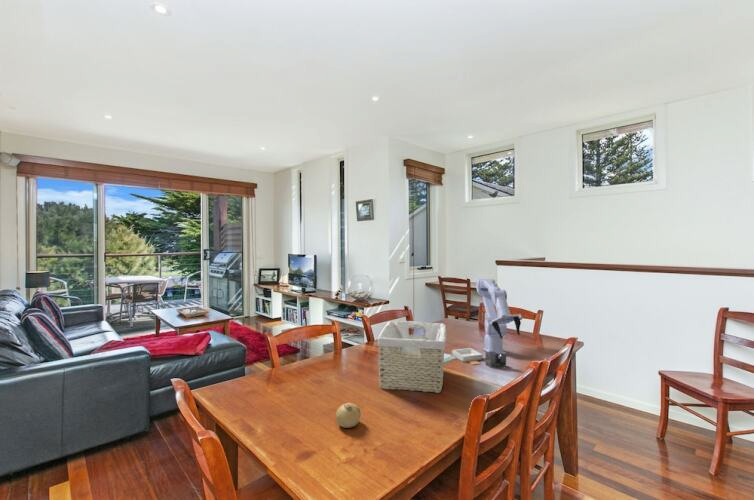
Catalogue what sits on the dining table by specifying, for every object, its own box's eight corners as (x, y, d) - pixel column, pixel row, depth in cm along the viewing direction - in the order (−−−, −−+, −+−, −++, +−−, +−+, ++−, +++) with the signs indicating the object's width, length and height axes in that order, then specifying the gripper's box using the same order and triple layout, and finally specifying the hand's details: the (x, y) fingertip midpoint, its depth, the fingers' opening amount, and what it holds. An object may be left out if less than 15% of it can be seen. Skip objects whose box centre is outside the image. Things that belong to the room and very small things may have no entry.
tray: (452, 354, 178) (452, 349, 178) (470, 352, 181) (470, 347, 181) (463, 361, 168) (463, 356, 168) (482, 359, 171) (482, 354, 171)
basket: (445, 397, 131) (446, 339, 131) (375, 390, 137) (375, 335, 136) (446, 370, 158) (446, 322, 157) (387, 365, 163) (387, 319, 162)
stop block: (485, 364, 164) (485, 352, 164) (492, 363, 165) (493, 351, 165) (490, 367, 160) (490, 354, 160) (498, 366, 162) (498, 353, 161)
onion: (330, 424, 112) (330, 402, 112) (349, 415, 118) (349, 394, 118) (346, 434, 107) (346, 411, 106) (365, 424, 112) (365, 402, 112)
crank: (485, 357, 170) (485, 347, 170) (491, 356, 171) (491, 347, 171) (501, 366, 159) (501, 355, 159) (507, 365, 160) (507, 355, 160)
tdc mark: (468, 361, 168) (468, 361, 168) (475, 361, 169) (475, 360, 169) (473, 364, 164) (473, 364, 164) (480, 363, 165) (480, 363, 165)
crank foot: (483, 359, 171) (483, 357, 171) (491, 358, 172) (492, 356, 172) (489, 363, 166) (489, 361, 166) (498, 362, 168) (498, 359, 167)
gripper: (485, 310, 169) (491, 334, 160) (516, 302, 165) (524, 327, 155) (489, 318, 174) (495, 342, 164) (519, 310, 169) (527, 335, 159)
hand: (509, 335), depth 160 cm, fingers open, 7 cm apart
